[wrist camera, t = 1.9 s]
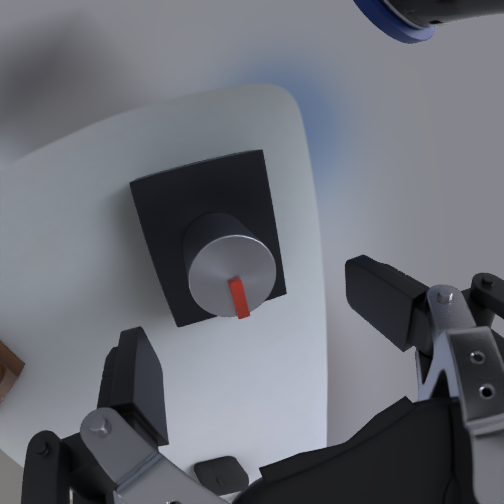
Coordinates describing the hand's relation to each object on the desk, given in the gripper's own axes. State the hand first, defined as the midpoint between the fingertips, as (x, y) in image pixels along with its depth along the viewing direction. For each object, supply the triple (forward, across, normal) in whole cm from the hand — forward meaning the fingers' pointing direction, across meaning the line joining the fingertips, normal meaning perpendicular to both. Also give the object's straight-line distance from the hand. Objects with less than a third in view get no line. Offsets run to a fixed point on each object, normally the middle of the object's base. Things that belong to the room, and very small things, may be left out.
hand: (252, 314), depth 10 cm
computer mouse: (+11, +9, +36) cm, 38 cm away
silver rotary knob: (+8, 0, 0) cm, 8 cm away
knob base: (+11, 0, 0) cm, 11 cm away
